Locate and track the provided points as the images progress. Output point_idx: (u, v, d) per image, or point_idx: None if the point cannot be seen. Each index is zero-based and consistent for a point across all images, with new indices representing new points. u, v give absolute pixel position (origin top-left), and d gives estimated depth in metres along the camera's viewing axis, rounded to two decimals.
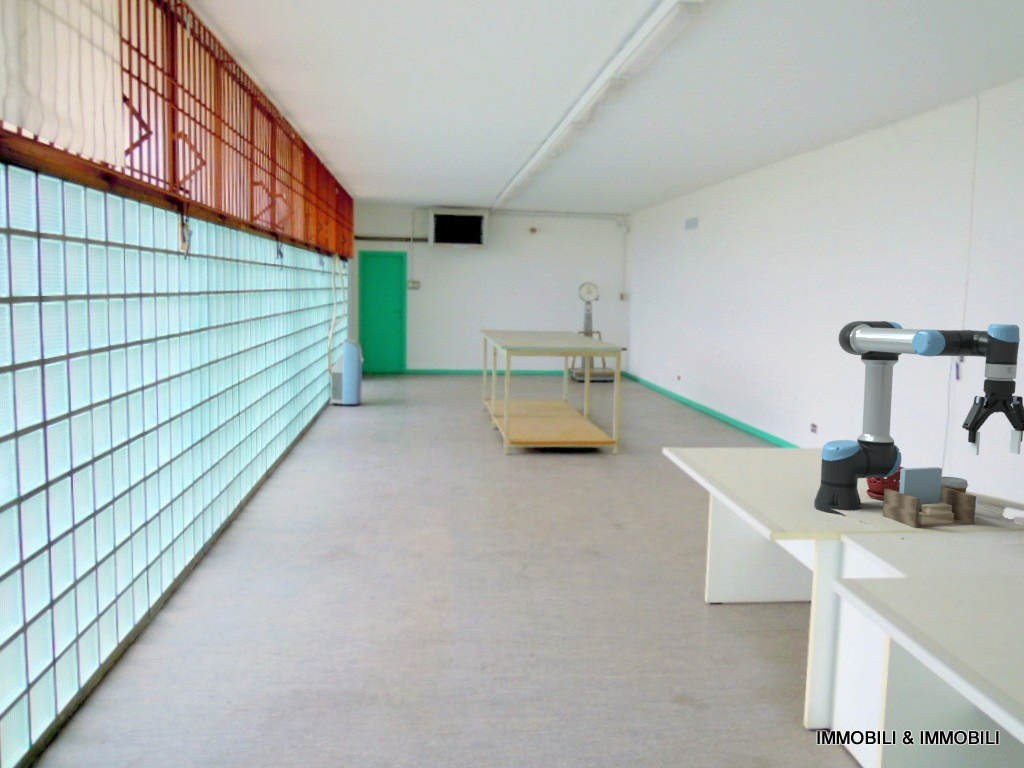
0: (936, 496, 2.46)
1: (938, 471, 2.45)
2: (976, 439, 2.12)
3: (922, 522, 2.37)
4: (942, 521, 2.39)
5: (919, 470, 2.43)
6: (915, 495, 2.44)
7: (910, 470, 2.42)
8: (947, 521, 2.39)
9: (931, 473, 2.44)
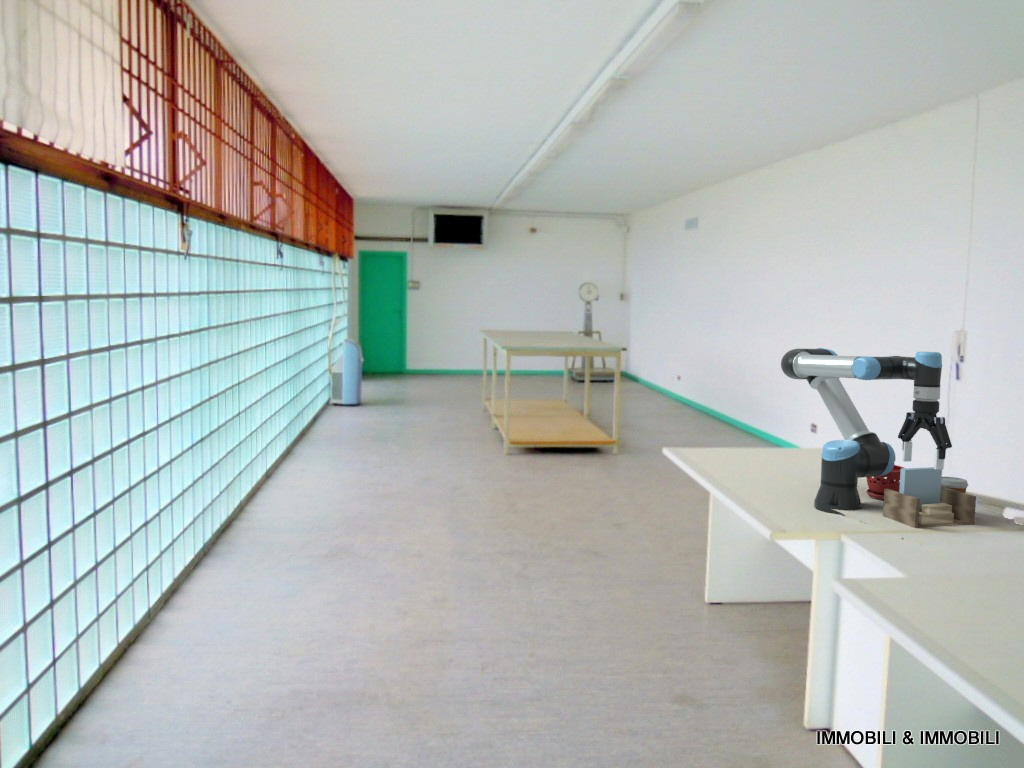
0: (936, 496, 2.46)
1: (938, 471, 2.45)
2: None
3: (922, 522, 2.37)
4: (942, 521, 2.39)
5: (919, 470, 2.43)
6: (915, 495, 2.44)
7: (910, 470, 2.42)
8: (947, 521, 2.39)
9: (931, 473, 2.44)
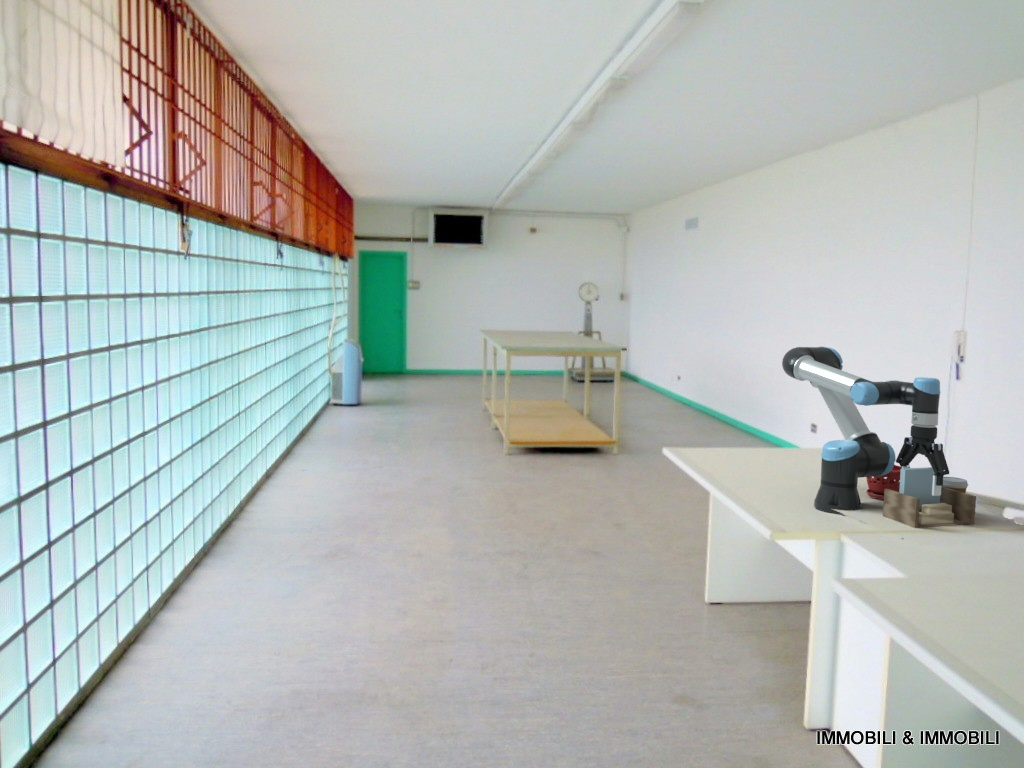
0: (936, 496, 2.46)
1: None
2: None
3: (922, 522, 2.37)
4: (942, 521, 2.39)
5: (919, 470, 2.43)
6: (915, 495, 2.44)
7: (910, 470, 2.42)
8: (947, 521, 2.39)
9: (931, 473, 2.44)
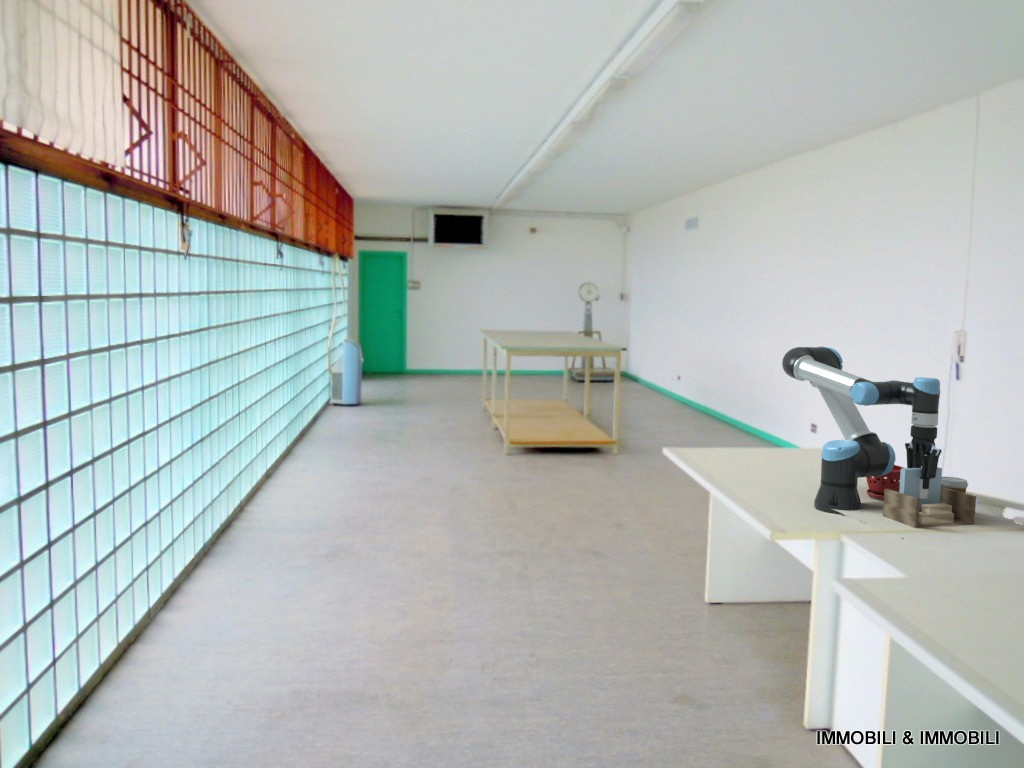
0: (936, 496, 2.46)
1: (938, 471, 2.45)
2: None
3: (922, 522, 2.37)
4: (942, 521, 2.39)
5: (919, 470, 2.43)
6: (915, 495, 2.44)
7: (910, 470, 2.42)
8: (947, 521, 2.39)
9: None
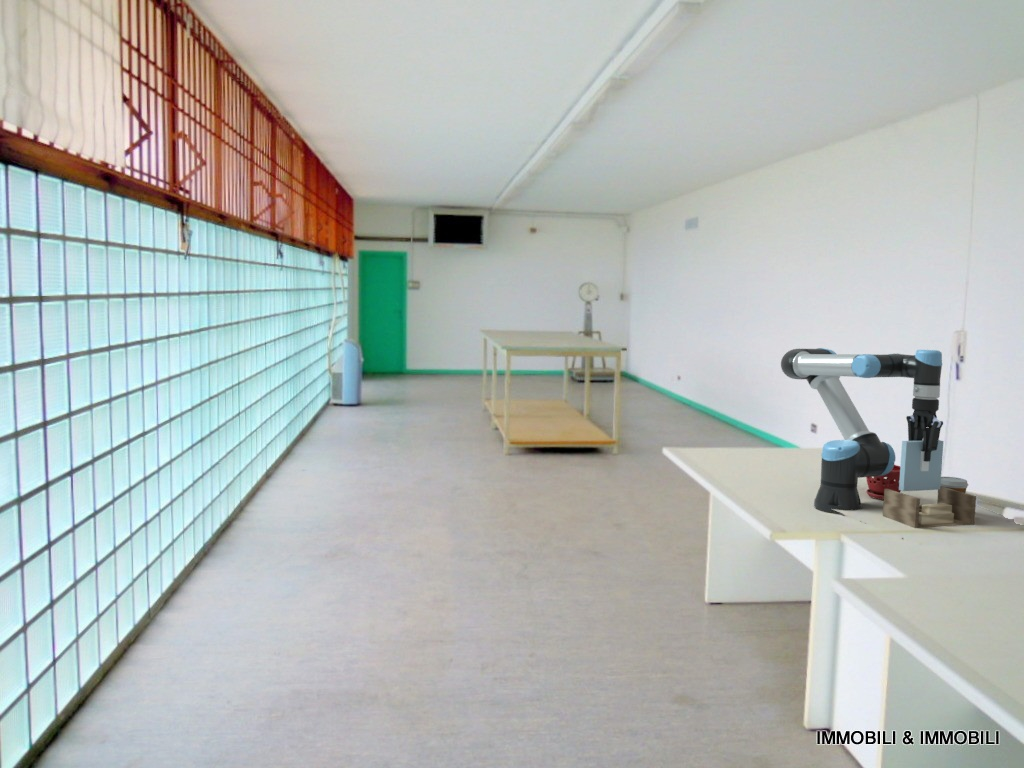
0: (937, 469, 2.45)
1: (939, 444, 2.44)
2: None
3: (922, 522, 2.37)
4: (942, 521, 2.39)
5: (920, 443, 2.42)
6: (916, 468, 2.43)
7: (911, 442, 2.42)
8: (947, 521, 2.39)
9: None
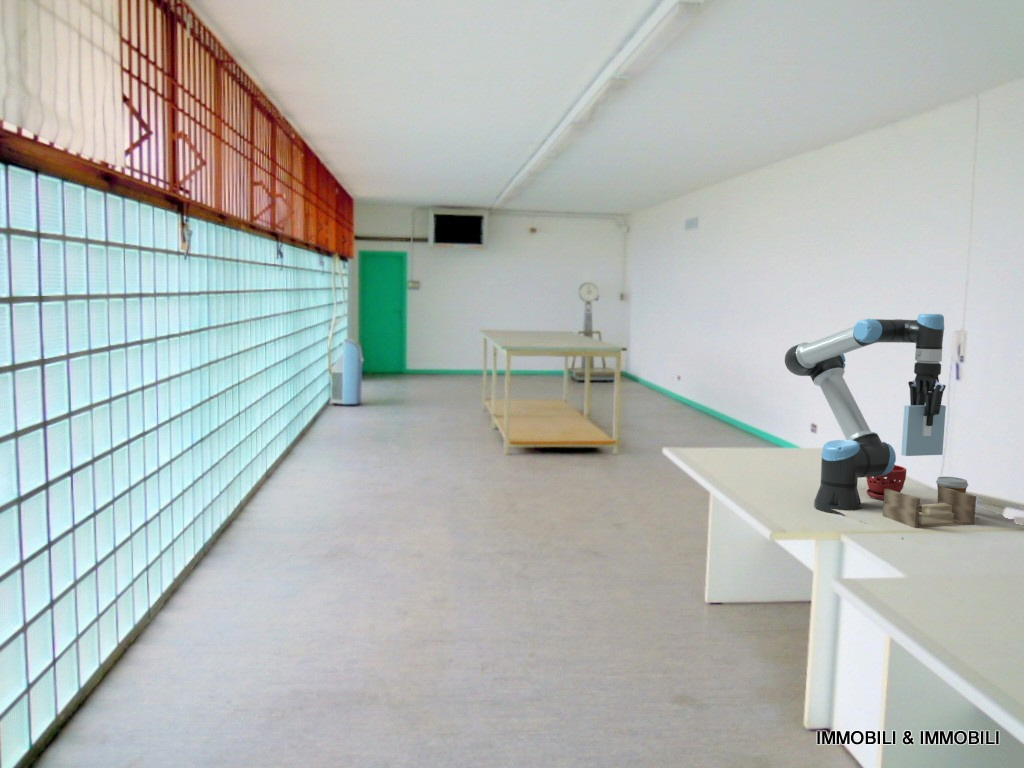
0: (940, 434, 2.44)
1: (942, 408, 2.43)
2: None
3: (922, 522, 2.37)
4: (942, 521, 2.39)
5: (923, 407, 2.41)
6: (919, 432, 2.42)
7: (914, 407, 2.40)
8: (947, 521, 2.39)
9: None
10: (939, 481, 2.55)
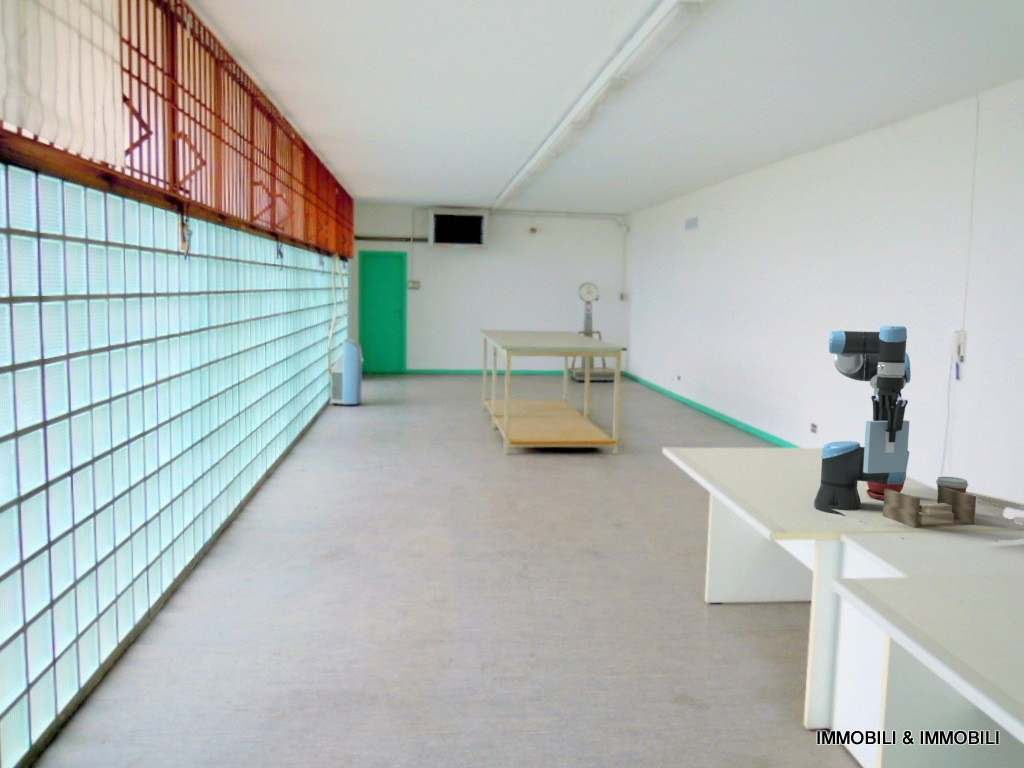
0: (903, 450, 2.35)
1: (905, 424, 2.34)
2: None
3: (922, 522, 2.37)
4: (942, 521, 2.39)
5: (885, 423, 2.33)
6: (881, 449, 2.33)
7: (876, 422, 2.32)
8: (947, 521, 2.39)
9: None
10: (939, 481, 2.55)
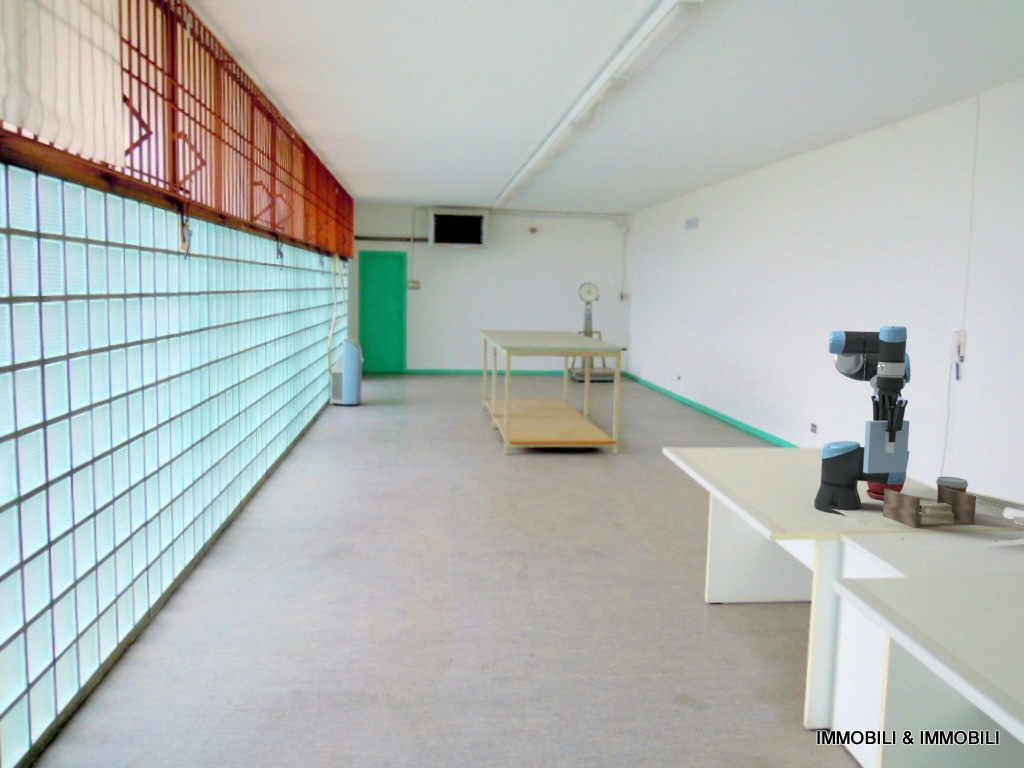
0: (903, 450, 2.35)
1: (905, 424, 2.34)
2: None
3: (922, 522, 2.37)
4: (942, 521, 2.39)
5: (885, 423, 2.33)
6: (881, 449, 2.33)
7: (876, 422, 2.32)
8: (947, 521, 2.39)
9: None
10: (939, 481, 2.55)
